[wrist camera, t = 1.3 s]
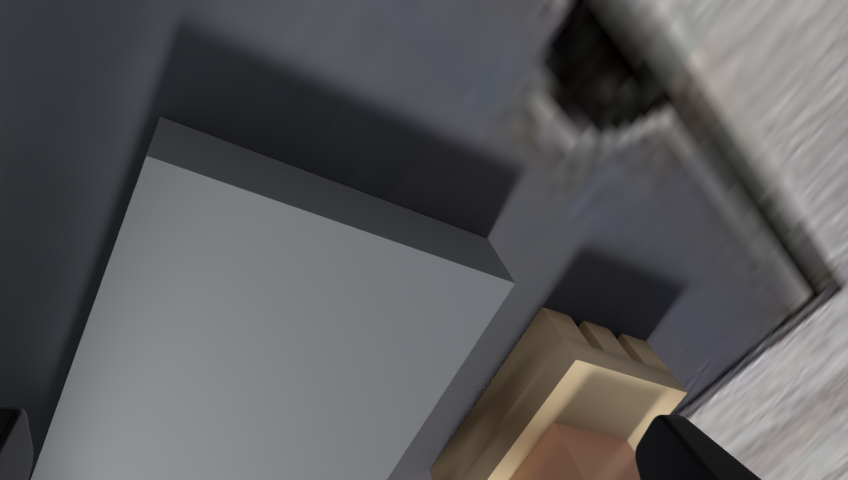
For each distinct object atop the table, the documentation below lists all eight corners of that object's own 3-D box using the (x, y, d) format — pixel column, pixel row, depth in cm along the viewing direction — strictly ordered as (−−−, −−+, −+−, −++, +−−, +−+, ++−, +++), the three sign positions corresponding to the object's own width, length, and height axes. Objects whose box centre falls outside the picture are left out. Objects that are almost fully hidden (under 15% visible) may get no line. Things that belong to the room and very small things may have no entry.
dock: (300, 543, 31) (304, 605, 28) (19, 511, 26) (-6, 582, 23) (487, 238, 24) (514, 283, 22) (160, 116, 19) (146, 155, 17)
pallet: (529, 486, 33) (556, 548, 30) (428, 467, 30) (447, 533, 27) (643, 339, 29) (687, 393, 26) (540, 304, 27) (576, 359, 24)
